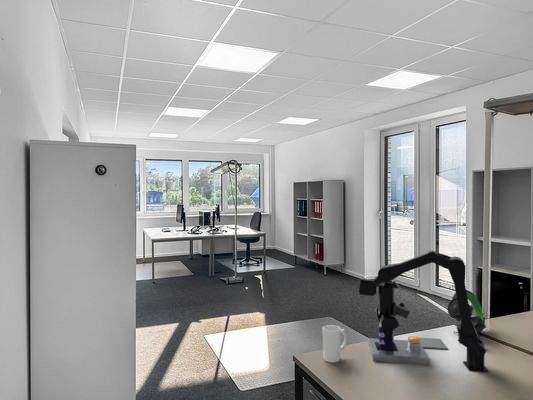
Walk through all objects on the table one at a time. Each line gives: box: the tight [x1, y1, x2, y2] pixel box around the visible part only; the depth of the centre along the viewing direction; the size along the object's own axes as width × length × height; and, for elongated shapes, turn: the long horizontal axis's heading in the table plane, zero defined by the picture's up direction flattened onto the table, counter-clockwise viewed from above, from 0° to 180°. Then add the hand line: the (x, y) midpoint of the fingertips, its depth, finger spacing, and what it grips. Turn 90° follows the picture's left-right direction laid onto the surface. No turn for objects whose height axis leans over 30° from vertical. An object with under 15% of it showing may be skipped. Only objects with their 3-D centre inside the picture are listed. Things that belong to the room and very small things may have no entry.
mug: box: [322, 324, 348, 364], centre depth 144 cm, size 10×7×12 cm, turn 109°
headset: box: [447, 289, 487, 344], centre depth 167 cm, size 18×14×29 cm
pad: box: [419, 337, 449, 351], centre depth 157 cm, size 10×10×1 cm
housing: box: [368, 337, 430, 365], centre depth 148 cm, size 16×20×5 cm
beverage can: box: [378, 323, 395, 351], centre depth 149 cm, size 6×6×12 cm
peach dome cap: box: [407, 335, 421, 344], centre depth 147 cm, size 4×4×3 cm
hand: (386, 337), depth 149 cm, fingers open, 9 cm apart
